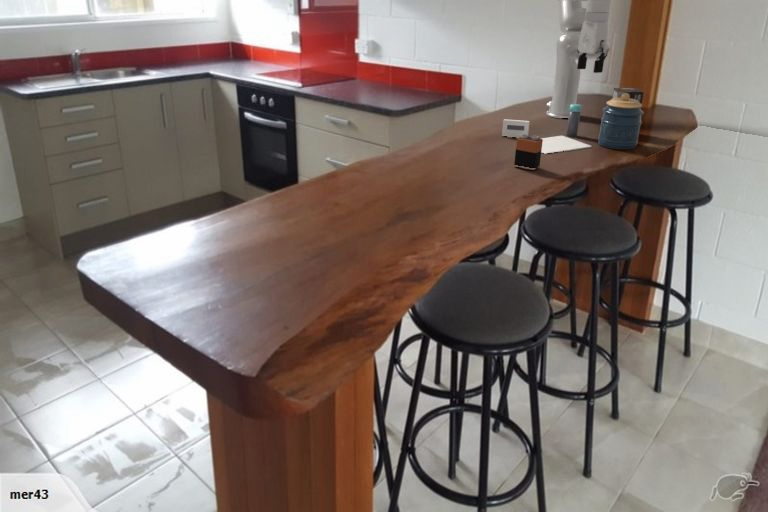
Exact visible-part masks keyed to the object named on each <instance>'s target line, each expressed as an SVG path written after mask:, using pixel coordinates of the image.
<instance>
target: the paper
mask: <svg viewBox="0 0 768 512" xmlns="http://www.w3.org/2000/svg"><path fill="white" fill-rule="evenodd" d="M540 139H542V140H543V142H542V150H541V154H542V153H544V154H543V155H548V154H547V153H552V154H555V153H554V152H558V153H563V151H564V152H570V151H575V150H583V149H589V148H593V147H592V145H590V144H588V143H585V142H581V141H579V140H576V139H573V138H571V137H568V136H566V135H565V136H564V135H557V136H550V137H542V138H540Z"/></svg>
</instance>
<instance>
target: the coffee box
mask: <svg viewBox="0 0 768 512" xmlns="http://www.w3.org/2000/svg"><path fill="white" fill-rule="evenodd" d="M624 93H628V94H629V96H630V98H631V99H635V100H638V102H639V103H641V104H642V105H643V98H644V91H643V89H641V88H637V87H614V88H613V93H612V98H611V99H613V98H621V96H622V94H624ZM640 109H641V110H642V107H640Z"/></svg>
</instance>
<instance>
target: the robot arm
mask: <svg viewBox="0 0 768 512" xmlns="http://www.w3.org/2000/svg"><path fill="white" fill-rule="evenodd" d="M582 2H586V7H583V4H582ZM611 3H612V0H558V17H559V28H560V31H561V32H562V33H564V34H561V35H560V36H559V37H558V39H557V41H556V49H555V50H556V65H555V75H554V76H555V77H554V81H553V84H554V85H553V90H552V98H551V101H549V102H547V103H546V107H548V110H547V111H546V116H547V117H551V118H555V119H562V118H569V109H570V104H577V100H578V94H579V86H580V79H581V70H586V68H587V61H588V60H594V65H593V73H594V74H597V73H598V74H599V73H603V70H604V64H605V61H606V58H607V57H608V53H609V52H610V48H611V47H610V46H609V45H608V44H607V43H608V33H609V32H608V31H609V25H608V23H609V17H610V16H609V15H610V10H611ZM576 60H577V62H576Z"/></svg>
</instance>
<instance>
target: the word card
mask: <svg viewBox="0 0 768 512" xmlns="http://www.w3.org/2000/svg"><path fill="white" fill-rule="evenodd" d="M529 127H530V120H522V119H521V120H519V119H506V118H505V119H503V121H502V133H501V137H502V136H507V137H506V138H512V137H516V138H515V139H517V138H519V137H521V136H522V135H527V136H528V137H529V131H530V130H529V129H530V128H529Z"/></svg>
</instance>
